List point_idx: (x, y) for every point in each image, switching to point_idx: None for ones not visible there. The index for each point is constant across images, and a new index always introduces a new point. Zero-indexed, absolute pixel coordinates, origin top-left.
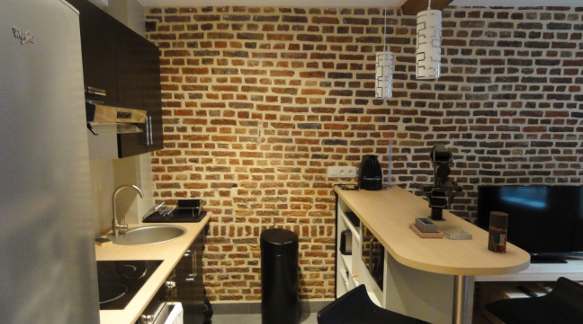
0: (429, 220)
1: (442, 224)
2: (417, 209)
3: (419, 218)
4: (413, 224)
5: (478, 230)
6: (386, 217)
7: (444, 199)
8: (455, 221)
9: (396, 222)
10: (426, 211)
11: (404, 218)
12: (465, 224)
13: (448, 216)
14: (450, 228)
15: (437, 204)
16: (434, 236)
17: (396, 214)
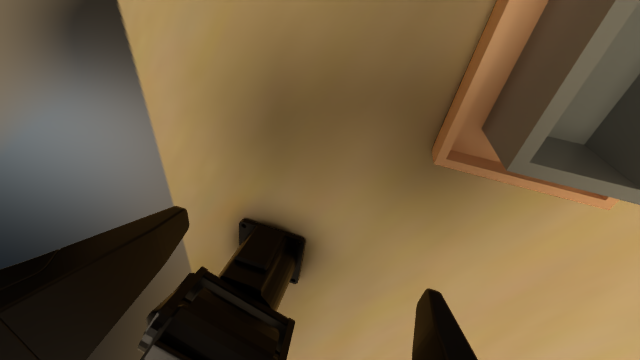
0: (593, 66)
1: (295, 171)
2: None
3: (610, 179)
4: (575, 188)
5: (129, 11)
6: (542, 353)
7: (165, 336)
8: (198, 190)
9: (576, 284)
10: None
11: None
12: (167, 136)
13: (200, 252)
14: (290, 90)
15: (242, 316)
16: None
17: None
